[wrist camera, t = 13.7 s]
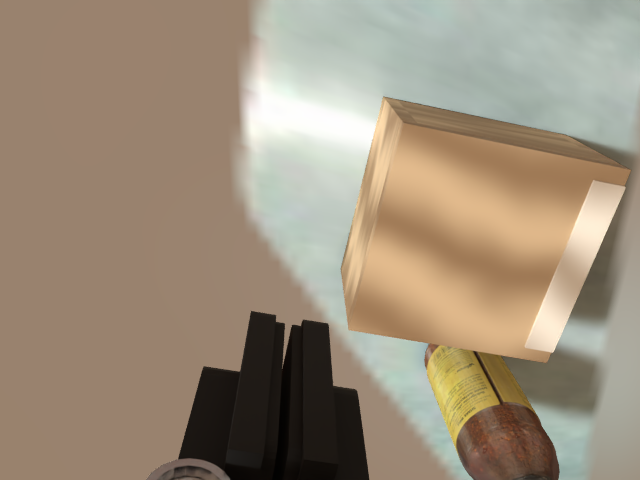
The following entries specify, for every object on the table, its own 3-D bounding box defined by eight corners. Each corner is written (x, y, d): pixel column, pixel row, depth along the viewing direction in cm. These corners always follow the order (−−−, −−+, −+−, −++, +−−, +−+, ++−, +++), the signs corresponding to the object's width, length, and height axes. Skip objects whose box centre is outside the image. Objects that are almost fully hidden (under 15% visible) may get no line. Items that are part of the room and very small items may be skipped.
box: (383, 96, 40) (400, 119, 33) (566, 134, 42) (621, 164, 35) (340, 268, 46) (347, 321, 39) (503, 297, 47) (540, 353, 40)
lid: (400, 119, 33) (404, 123, 32) (622, 165, 34) (633, 171, 33) (347, 321, 38) (348, 331, 37) (541, 354, 40) (547, 364, 39)
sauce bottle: (419, 382, 51) (484, 600, 32) (425, 322, 48) (499, 522, 30) (492, 381, 51) (597, 598, 33) (501, 322, 48) (621, 520, 30)
